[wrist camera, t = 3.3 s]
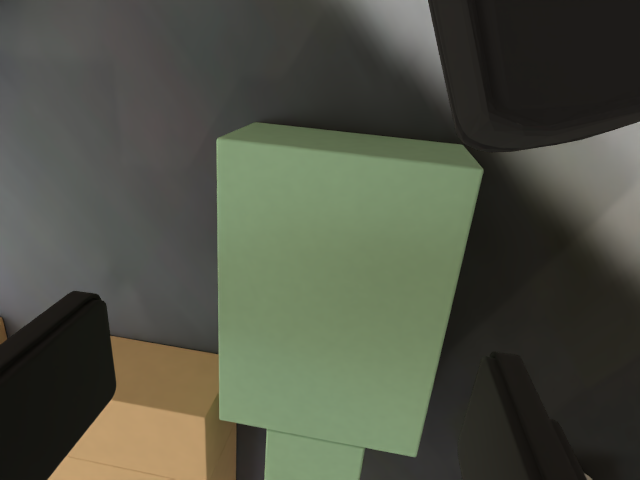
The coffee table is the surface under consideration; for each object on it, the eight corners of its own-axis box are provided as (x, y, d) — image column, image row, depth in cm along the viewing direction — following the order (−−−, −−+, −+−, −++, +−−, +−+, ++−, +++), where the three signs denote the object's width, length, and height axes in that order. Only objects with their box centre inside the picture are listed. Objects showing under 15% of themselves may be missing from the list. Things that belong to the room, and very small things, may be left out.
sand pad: (237, 357, 19) (205, 418, 15) (235, 537, 23) (210, 612, 20) (-124, 294, 21) (-219, 336, 18) (-60, 471, 25) (-125, 530, 22)
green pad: (463, 144, 14) (484, 168, 11) (401, 441, 19) (402, 517, 16) (254, 121, 15) (215, 137, 12) (247, 412, 20) (219, 479, 17)
